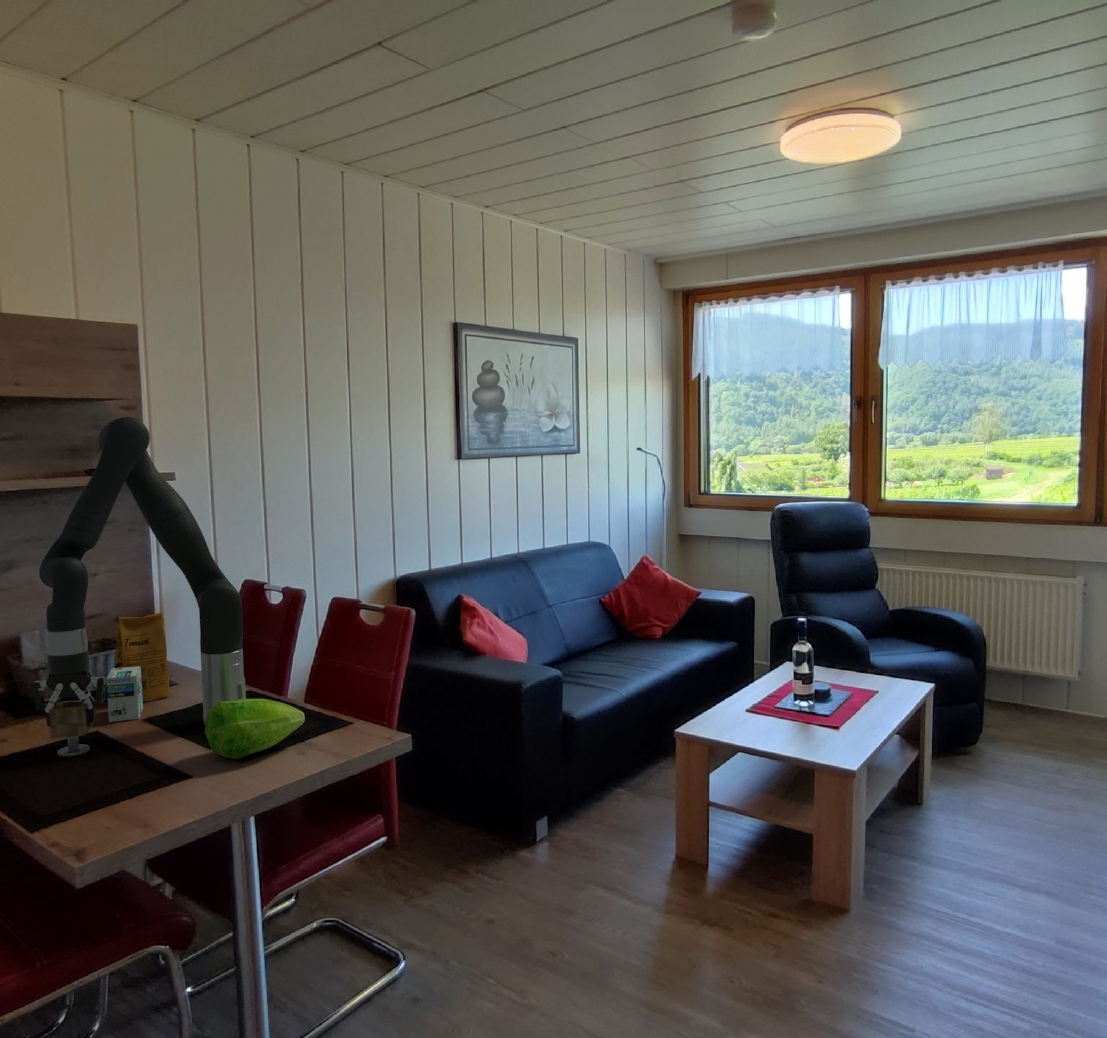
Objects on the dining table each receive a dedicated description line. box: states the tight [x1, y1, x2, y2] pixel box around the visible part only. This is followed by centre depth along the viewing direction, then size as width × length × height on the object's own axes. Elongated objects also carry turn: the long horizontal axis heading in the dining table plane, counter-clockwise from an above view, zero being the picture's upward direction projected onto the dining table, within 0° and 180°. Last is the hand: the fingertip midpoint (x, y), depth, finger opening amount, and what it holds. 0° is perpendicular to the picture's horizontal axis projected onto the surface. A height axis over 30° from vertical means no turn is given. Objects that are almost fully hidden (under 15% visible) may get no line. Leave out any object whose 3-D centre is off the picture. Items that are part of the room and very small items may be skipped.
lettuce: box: [204, 698, 306, 760], centre depth 176 cm, size 14×20×12 cm
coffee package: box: [114, 612, 170, 703], centre depth 216 cm, size 10×12×22 cm
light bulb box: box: [106, 666, 144, 723], centre depth 203 cm, size 11×7×11 cm, turn 22°
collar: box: [49, 699, 94, 740], centre depth 178 cm, size 6×6×6 cm
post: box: [57, 736, 91, 758], centre depth 178 cm, size 6×6×9 cm
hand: (71, 726), depth 178 cm, fingers closed on collar, 6 cm apart
